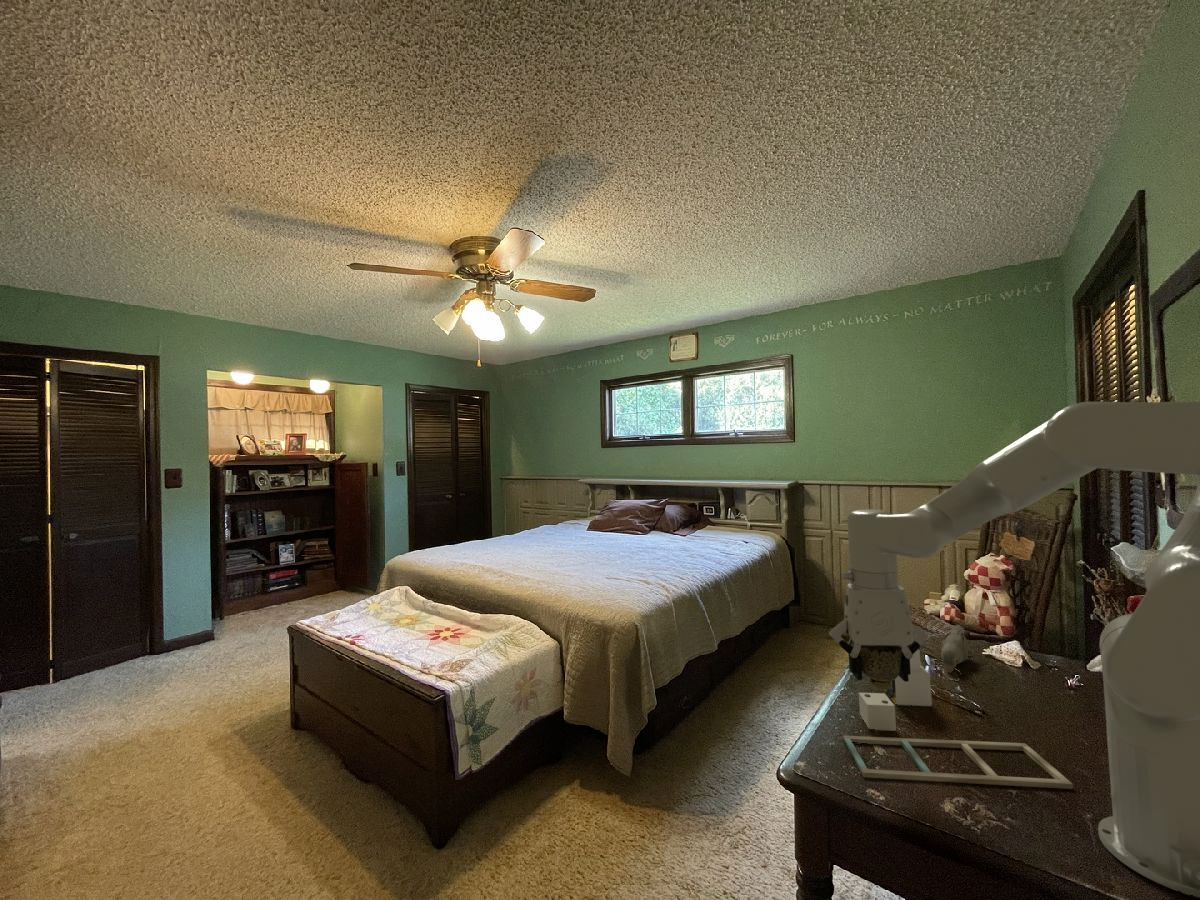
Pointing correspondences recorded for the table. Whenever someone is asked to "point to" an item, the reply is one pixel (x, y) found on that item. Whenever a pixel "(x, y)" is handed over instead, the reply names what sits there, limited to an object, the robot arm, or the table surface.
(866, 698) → the die
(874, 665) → the dark patterned vase
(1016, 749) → the ladder
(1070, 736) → the table surface
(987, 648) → the table surface
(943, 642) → the decorative bird
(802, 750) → the table surface
